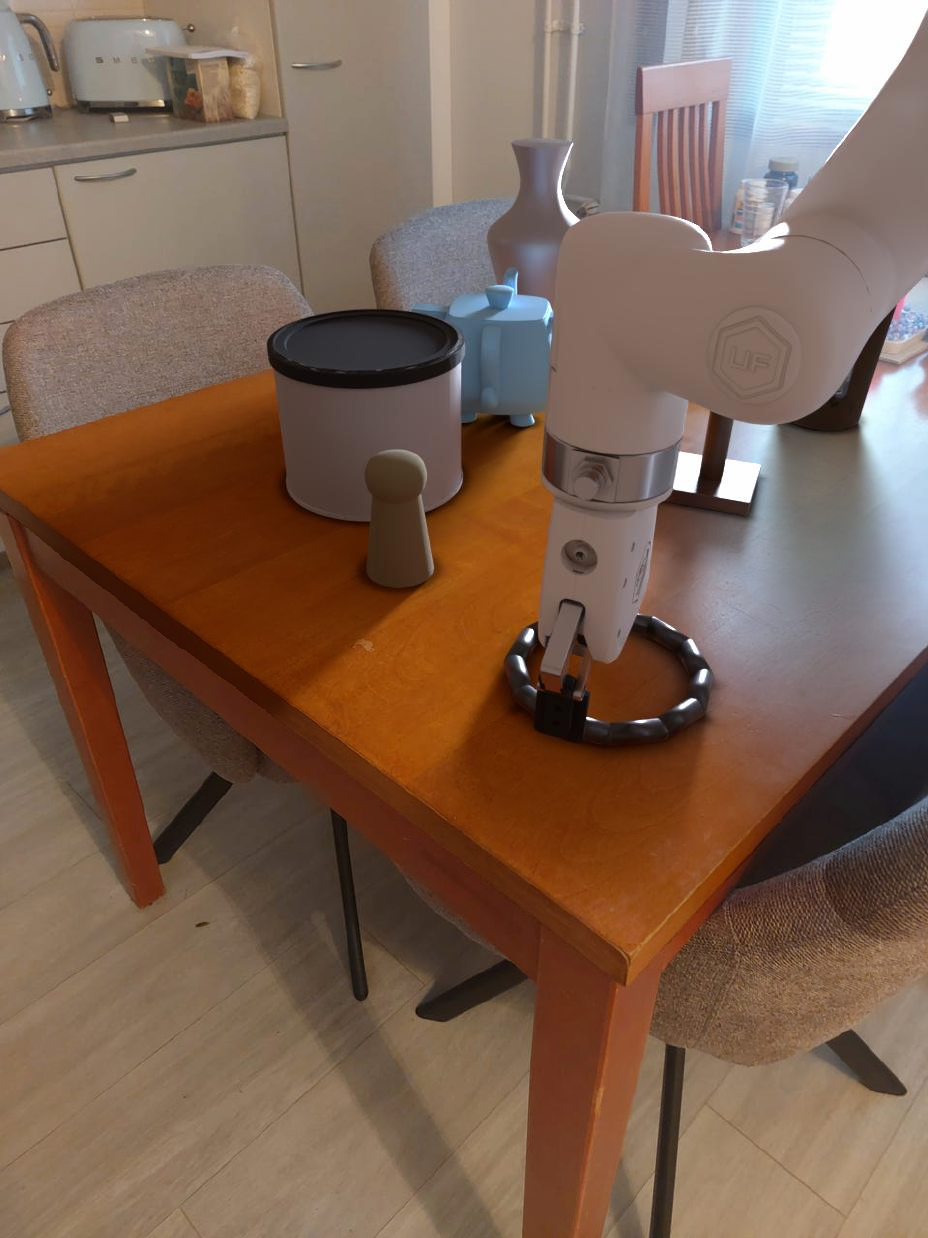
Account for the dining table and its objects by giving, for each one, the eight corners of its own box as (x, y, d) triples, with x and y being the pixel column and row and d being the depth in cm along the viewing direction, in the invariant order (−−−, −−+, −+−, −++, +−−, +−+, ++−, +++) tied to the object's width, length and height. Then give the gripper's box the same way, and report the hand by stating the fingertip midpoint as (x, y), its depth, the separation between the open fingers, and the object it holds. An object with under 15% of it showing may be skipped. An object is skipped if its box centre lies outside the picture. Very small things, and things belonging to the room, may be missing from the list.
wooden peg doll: (447, 563, 80) (445, 451, 74) (408, 595, 76) (403, 479, 70) (392, 544, 83) (387, 435, 77) (352, 574, 79) (342, 461, 73)
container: (253, 470, 95) (232, 330, 87) (399, 427, 105) (393, 296, 96) (344, 543, 83) (331, 389, 75) (500, 486, 93) (505, 343, 84)
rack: (758, 477, 94) (783, 362, 87) (747, 516, 88) (773, 394, 80) (673, 463, 97) (691, 350, 90) (656, 499, 90) (673, 380, 83)
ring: (724, 644, 71) (727, 628, 70) (689, 773, 59) (692, 756, 58) (541, 603, 75) (542, 587, 74) (476, 715, 64) (476, 699, 63)
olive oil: (790, 392, 114) (838, 176, 99) (875, 411, 109) (940, 187, 94) (758, 419, 107) (806, 191, 92) (848, 441, 102) (913, 204, 87)
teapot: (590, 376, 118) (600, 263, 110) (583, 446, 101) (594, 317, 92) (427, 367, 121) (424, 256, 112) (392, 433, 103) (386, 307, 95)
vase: (469, 321, 137) (470, 137, 122) (551, 309, 142) (562, 131, 127) (513, 350, 126) (519, 153, 111) (600, 336, 131) (617, 145, 116)
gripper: (640, 545, 42) (600, 793, 52) (703, 410, 55) (661, 630, 65) (492, 513, 44) (481, 757, 55) (586, 391, 57) (563, 606, 68)
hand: (579, 688), depth 60 cm, fingers open, 9 cm apart
